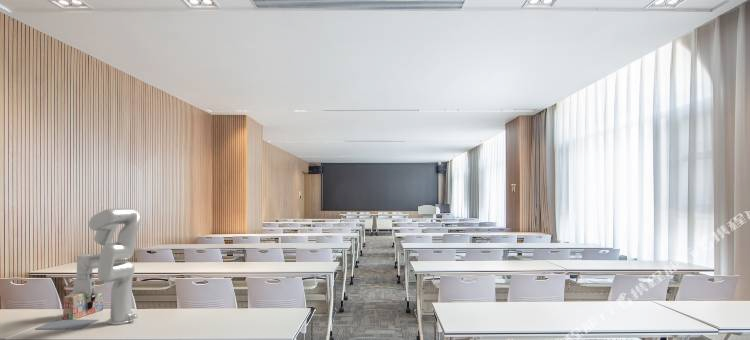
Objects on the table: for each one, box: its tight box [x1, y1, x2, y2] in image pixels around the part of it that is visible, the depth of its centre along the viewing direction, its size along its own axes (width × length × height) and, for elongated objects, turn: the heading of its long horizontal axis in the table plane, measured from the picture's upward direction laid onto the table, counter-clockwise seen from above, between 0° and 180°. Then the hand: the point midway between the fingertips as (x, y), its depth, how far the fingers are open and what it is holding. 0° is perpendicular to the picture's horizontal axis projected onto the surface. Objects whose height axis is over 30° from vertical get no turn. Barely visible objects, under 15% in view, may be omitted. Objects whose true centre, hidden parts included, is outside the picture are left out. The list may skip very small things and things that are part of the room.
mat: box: [34, 319, 99, 331], centre depth 234 cm, size 22×16×1 cm
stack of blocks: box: [62, 293, 104, 320], centre depth 254 cm, size 21×6×12 cm, turn 170°
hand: (83, 308), depth 254 cm, fingers closed on stack of blocks, 7 cm apart
